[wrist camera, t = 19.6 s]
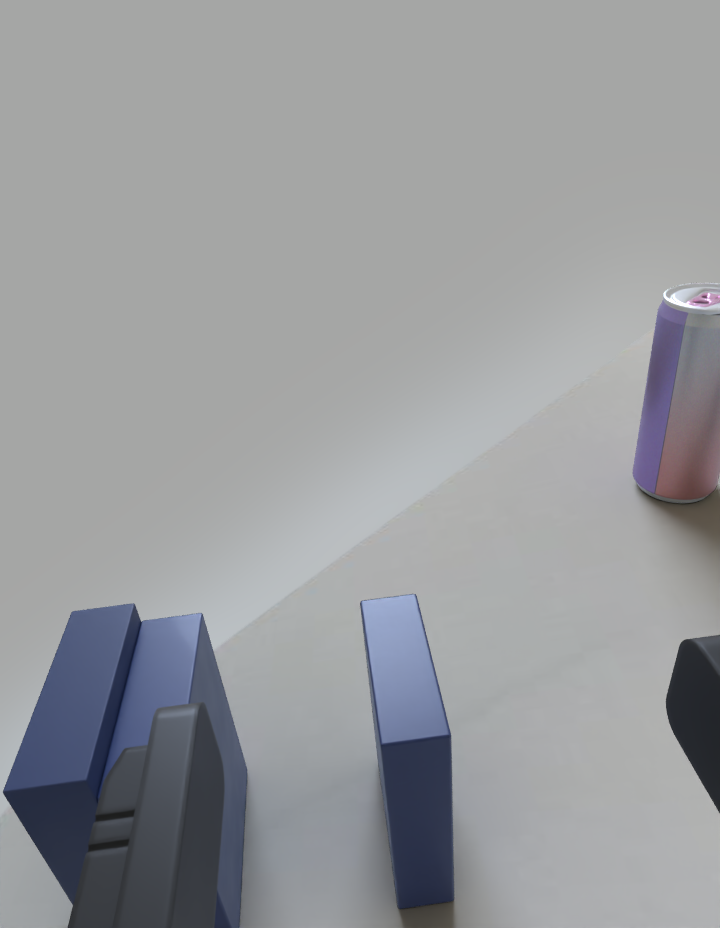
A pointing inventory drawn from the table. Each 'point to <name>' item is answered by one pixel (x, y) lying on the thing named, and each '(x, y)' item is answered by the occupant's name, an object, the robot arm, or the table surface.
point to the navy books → (120, 733)
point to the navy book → (411, 750)
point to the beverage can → (682, 398)
